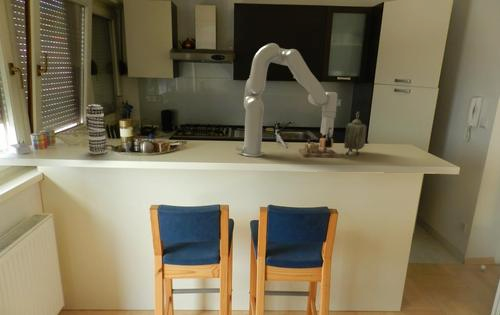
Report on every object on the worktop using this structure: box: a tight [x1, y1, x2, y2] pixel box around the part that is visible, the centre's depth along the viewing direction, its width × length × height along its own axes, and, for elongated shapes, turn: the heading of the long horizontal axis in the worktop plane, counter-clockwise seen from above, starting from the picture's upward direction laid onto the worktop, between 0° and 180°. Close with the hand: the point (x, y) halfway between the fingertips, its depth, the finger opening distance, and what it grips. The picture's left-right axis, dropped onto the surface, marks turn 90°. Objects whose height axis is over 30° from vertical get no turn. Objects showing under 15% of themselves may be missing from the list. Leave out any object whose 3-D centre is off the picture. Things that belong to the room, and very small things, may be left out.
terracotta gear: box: [318, 137, 334, 149], centre depth 188 cm, size 7×7×4 cm
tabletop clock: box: [343, 111, 368, 156], centre depth 190 cm, size 14×9×25 cm, turn 152°
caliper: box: [276, 132, 288, 149], centre depth 211 cm, size 20×1×6 cm, turn 11°
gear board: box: [298, 139, 340, 159], centre depth 188 cm, size 20×14×8 cm
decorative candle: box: [85, 104, 108, 155], centre depth 173 cm, size 9×9×25 cm
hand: (326, 145), depth 188 cm, fingers closed on terracotta gear, 7 cm apart
